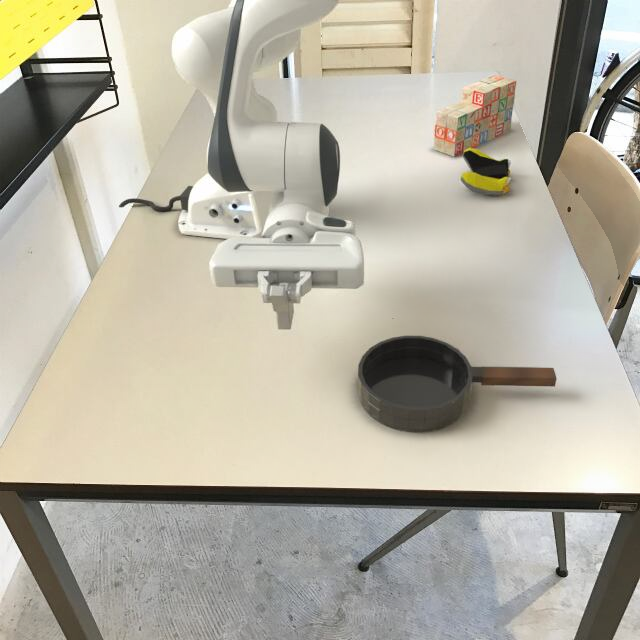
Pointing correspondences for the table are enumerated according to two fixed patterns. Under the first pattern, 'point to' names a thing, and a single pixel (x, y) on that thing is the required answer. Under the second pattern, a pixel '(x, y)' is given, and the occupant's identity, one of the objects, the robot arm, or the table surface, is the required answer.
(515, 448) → the table surface
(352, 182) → the table surface
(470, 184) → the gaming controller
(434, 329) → the table surface
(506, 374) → the pan handle
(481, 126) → the stack of blocks
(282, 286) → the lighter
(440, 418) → the pan
